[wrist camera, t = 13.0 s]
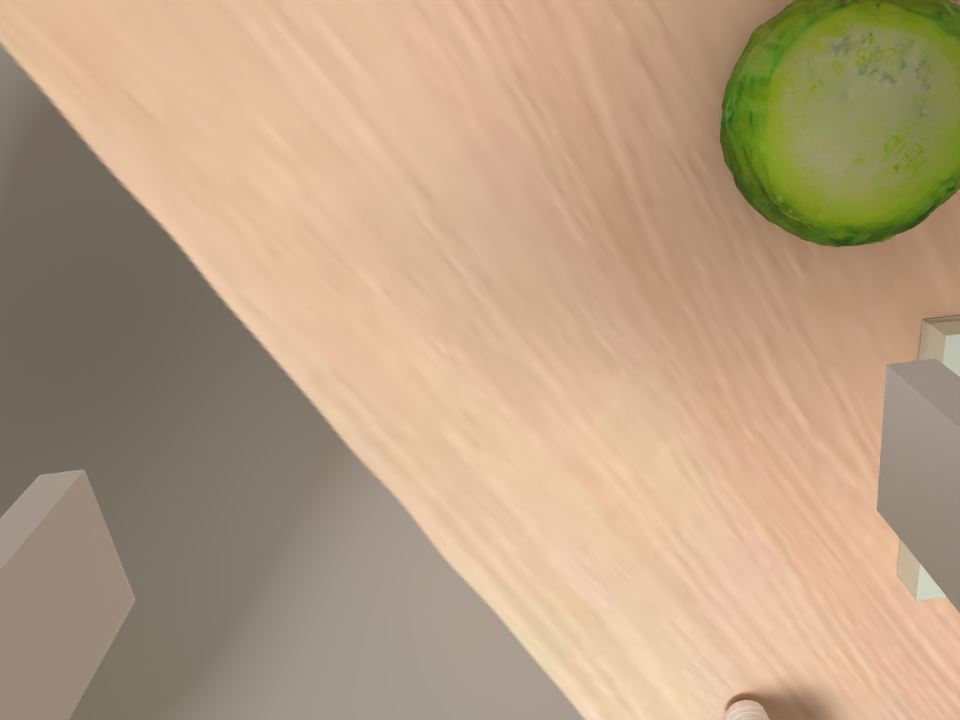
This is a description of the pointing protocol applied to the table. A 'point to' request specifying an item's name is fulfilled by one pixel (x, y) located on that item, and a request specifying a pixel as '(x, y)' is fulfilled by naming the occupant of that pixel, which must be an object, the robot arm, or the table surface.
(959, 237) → the table surface
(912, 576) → the tray
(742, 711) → the lightbulb
